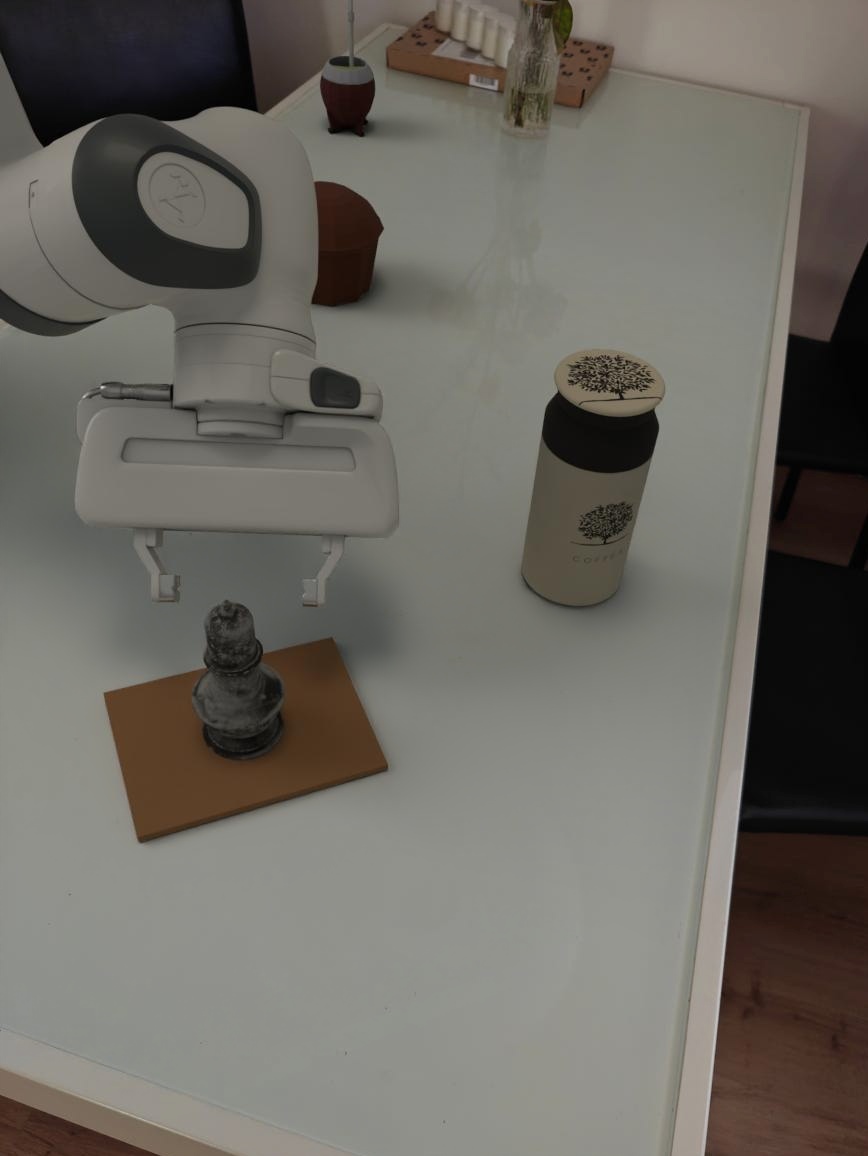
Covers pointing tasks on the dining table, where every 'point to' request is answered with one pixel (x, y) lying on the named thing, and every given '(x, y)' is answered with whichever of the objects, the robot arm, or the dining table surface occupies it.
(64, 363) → the dining table surface
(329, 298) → the muffin
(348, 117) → the mate gourd
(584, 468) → the travel mug
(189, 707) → the cork mat
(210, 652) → the salt shaker
